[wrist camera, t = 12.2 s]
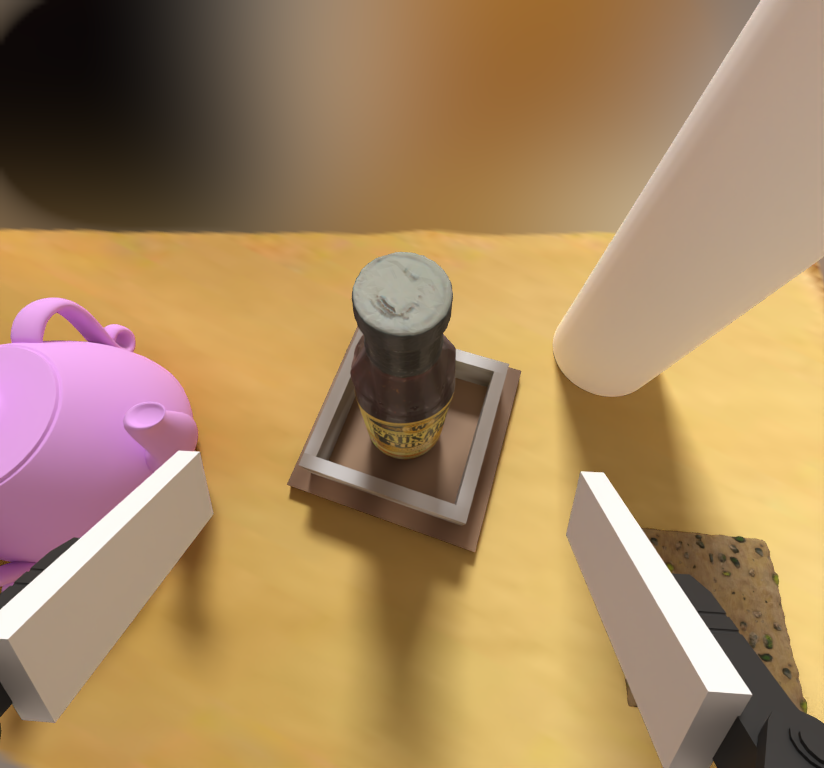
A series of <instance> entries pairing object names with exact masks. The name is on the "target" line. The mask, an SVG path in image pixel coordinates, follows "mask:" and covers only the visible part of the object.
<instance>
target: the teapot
mask: <svg viewBox="0 0 824 768" xmlns="http://www.w3.org/2000/svg"><path fill="white" fill-rule="evenodd" d="M56 312H57V313H59V314H60V315H62V316H63V317H64V318H66V319H67V320H68V321H69V322H70V323H71V324H72V325H73V326H74V327H75V328H76V329H77V330H78V331H79V332H80V333H81V334H82V335H83V337H84V338H85V339H86V340H87V341H88V342H81V341H43V340H42V339H43V334H44V330H45V326H46V324H47V322H48V320H49V319H50V318H51V316H52V315H54V314H55V313H56ZM11 341H12V343H11V344H3V345H0V559H1V560H4V561H9V562H11V563H8V564H5V565H2V566H0V587H1V586H2V592H3V591H4V590H5V589H6V588H8V587H9V586H13V584H14V582H15V581H16V580H17V579H18V578H19V577H21V576H22V575H23V574H24V573H25V572H26V571H27V572H29V571H30V568H31V567H32V566H33V565H35V564H36V563H37V562H38V561H39V560H40V559H42V558H43V557H44V556H45V555H46V554H47V553H49V552H50V551H51V550H53V549H55V548H56V547H58V546H60V545H62V544H63V543H65V542H67V541H68V540H70V539H72V538H74V537H76V538H81V537H82V536H83V535H84V534H86V533H87V532H88V531H89V530H90V529H91V528H92V527H93V526H95V525H96V524H97V523H98V522H99V521H100V520H101V519H102V518H104V517H105V516H106V515H107V514H108V513H109V512H110V511H111V510H113V509H114V508H115V507H116V506H117V505H118V504H119V503H120V502H122V501H123V500H124V499H125V498H126V497H127V496H128V495H129V494H130V493H132V492H133V491H134V490H135V489H136V488H137V487H138V486H139V485H141V484H142V483H143V482H144V481H145V480H146V479H147V478H148V477H150V476H151V475H152V474H153V473H154V472H155V471H156V470H157V469H159V468H160V467H161V466H162V465H163V464H164V463H165V462H166V461H167V460H169V459H170V458H171V457H172V456H173V455H174V454H175V453H176V452H178V451H194V450H195V448H196V445H197V440H198V429H197V425H196V423H195V421H194V420H193V414H192V410H191V406H190V403H189V400H188V398H187V396H186V394H185V391H184V389H183V388H182V386H181V385H180V383H179V382H178V380H177V379H176V378H175V377H174V376H173V375H172V374H171V373H170V372H168V371H167V370H166V369H164V368H163V367H162V366H160V365H158V364H157V363H155V362H153V361H151V360H149V359H148V358H146V357H143V356H141V355H138V354H136V353H133V351H134V349H135V336H134V334H133V333H132V332H131V331H130V330H129V329H128V328H126V327H124V326H121V325H116V324H111V325H108V326H106V327H105V328H103V327H102V326H101V325H100V323H99V322H98V321H97V320H96V319H95V318H94V317H93V316H92V315H91V314H90V313H89V312H88V311H87V310H86V309H84V308H83V307H82V306H80V305H78V304H77V303H75V302H72V301H70V300H66V299H61V298H44V299H40V300H37V301H34V302H32V303H30V304H28V305H27V306H25V307H24V308H23V309H22V310H21V311H20V312H19V313H18V314H17V316H16V318H15V320H14V322H13V325H12V329H11Z"/></svg>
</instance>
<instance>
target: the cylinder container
mask: <svg viewBox="0 0 824 768" xmlns="http://www.w3.org/2000/svg"><path fill="white" fill-rule="evenodd" d="M823 257H824V0H761V1H760V3H759V4H758V6H757V8H756V9H755V11H754V12H753V14H752V16H751V17H750V19H749V20H748V22H747V24H746V25H745V27H744V28H743V30H742V32H741V33H740V35H739V37H738V38H737V40H736V41H735V43H734V44H733V46H732V48H731V49H730V51H729V53H728V54H727V56H726V57H725V59H724V61H723V62H722V64H721V65H720V67H719V69H718V70H717V72H716V73H715V75H714V77H713V78H712V80H711V82H710V83H709V85H708V86H707V88H706V89H705V91H704V93H703V94H702V96H701V98H700V99H699V101H698V103H697V104H696V106H695V107H694V109H693V110H692V112H691V114H690V115H689V117H688V119H687V120H686V122H685V123H684V125H683V126H682V128H681V130H680V131H679V133H678V135H677V136H676V138H675V139H674V141H673V143H672V144H671V146H670V147H669V149H668V151H667V152H666V154H665V156H664V157H663V159H662V160H661V162H660V164H659V165H658V167H657V168H656V170H655V171H654V173H653V175H652V177H651V178H650V180H649V181H648V183H647V184H646V186H645V188H644V189H643V191H642V193H641V194H640V196H639V197H638V199H637V201H636V202H635V204H634V205H633V207H632V209H631V210H630V212H629V213H628V215H627V217H626V218H625V220H624V221H623V223H622V225H621V226H620V228H619V229H618V231H617V233H616V234H615V236H614V237H613V239H612V241H611V242H610V244H609V245H608V247H607V249H606V250H605V252H604V254H603V255H602V257H601V258H600V260H599V262H598V263H597V265H596V266H595V268H594V270H593V271H592V273H591V274H590V276H589V278H588V279H587V281H586V282H585V284H584V286H583V287H582V289H581V291H580V292H579V294H578V295H577V297H576V299H575V300H574V302H573V303H572V305H571V307H570V308H569V310H568V311H567V313H566V315H565V316H564V318H563V319H562V321H561V323H560V324H559V326H558V327H557V329H556V332H555V334H554V338H553V353H554V357H555V360H556V362H557V364H558V366H559V368H560V369H561V371H562V372H563V373H564V375H565V376H566V377H567V378H568V379H569V380H570V381H571V382H573V383H574V384H575V385H577V386H578V387H580V388H581V389H583V390H585V391H588V392H590V393H593V394H596V395H601V396H608V397H616V396H623V395H627V394H630V393H632V392H635V391H636V390H638V389H639V388H641V387H642V386H644V385H645V384H646V383H648V382H649V381H651V380H652V379H653V378H655V377H656V376H658V375H659V374H660V373H662V372H663V371H665V370H666V369H667V368H669V367H670V366H672V365H673V364H674V363H676V362H677V361H679V360H680V359H681V358H683V357H684V356H686V355H687V354H688V353H690V352H691V351H693V350H694V349H695V348H697V347H698V346H700V345H701V344H702V343H704V342H705V341H707V340H708V339H709V338H711V337H712V336H714V335H715V334H716V333H718V332H719V331H721V330H722V329H723V328H725V327H726V326H728V325H729V324H730V323H732V322H733V321H735V320H736V319H737V318H739V317H740V316H742V315H743V314H744V313H746V312H747V311H749V310H750V309H751V308H753V307H754V306H756V305H757V304H758V303H760V302H761V301H763V300H764V299H765V298H767V297H768V296H769V295H771V294H772V293H774V292H775V291H776V290H778V289H779V288H781V287H782V286H783V285H785V284H786V283H788V282H789V281H790V280H792V279H793V278H795V277H796V276H797V275H799V274H800V273H802V272H803V271H804V270H806V269H807V268H809V267H810V266H811V265H813V264H814V263H816V262H817V261H818V260H820V259H821V258H823Z"/></svg>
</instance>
